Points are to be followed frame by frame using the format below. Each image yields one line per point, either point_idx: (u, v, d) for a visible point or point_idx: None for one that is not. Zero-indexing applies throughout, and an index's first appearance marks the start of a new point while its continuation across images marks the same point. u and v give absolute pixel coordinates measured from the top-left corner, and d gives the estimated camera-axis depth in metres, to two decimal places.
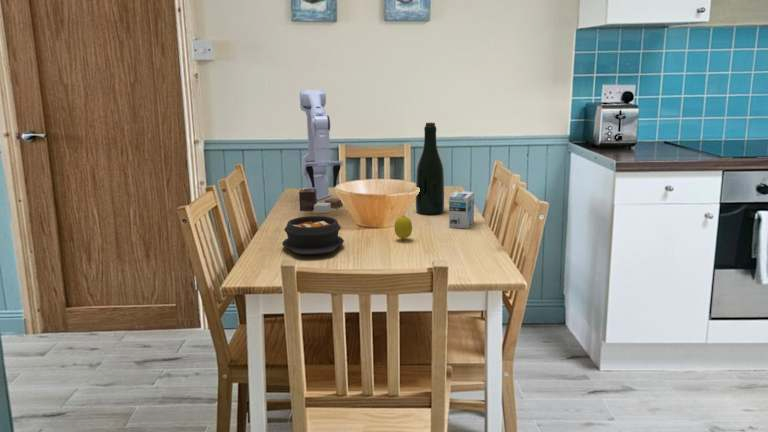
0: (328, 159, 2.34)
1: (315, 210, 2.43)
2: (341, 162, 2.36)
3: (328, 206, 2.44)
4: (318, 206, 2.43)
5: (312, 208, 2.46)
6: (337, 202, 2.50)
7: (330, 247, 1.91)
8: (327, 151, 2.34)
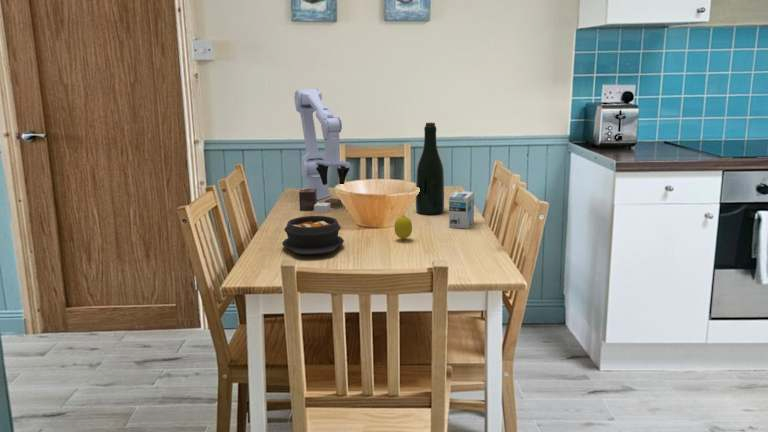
0: (333, 160, 2.45)
1: (315, 210, 2.43)
2: (346, 164, 2.44)
3: (328, 206, 2.44)
4: (318, 206, 2.43)
5: (312, 208, 2.46)
6: (337, 202, 2.50)
7: (330, 247, 1.91)
8: (332, 153, 2.45)
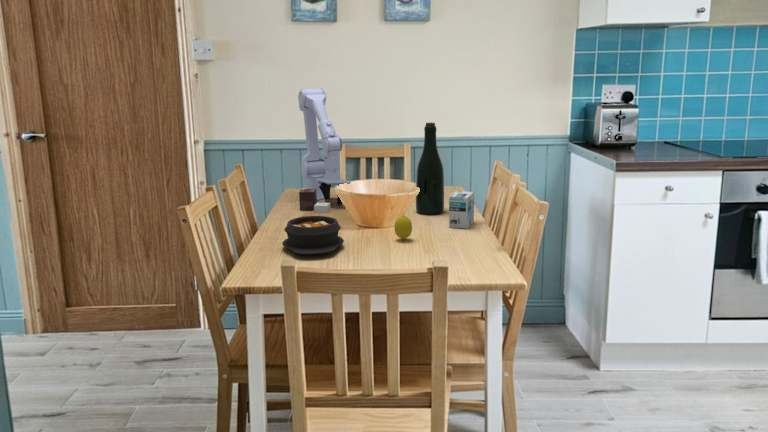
0: (334, 179, 2.47)
1: (315, 210, 2.43)
2: None
3: (328, 206, 2.44)
4: (318, 206, 2.43)
5: (312, 208, 2.46)
6: (337, 201, 2.50)
7: (330, 247, 1.91)
8: (333, 172, 2.46)
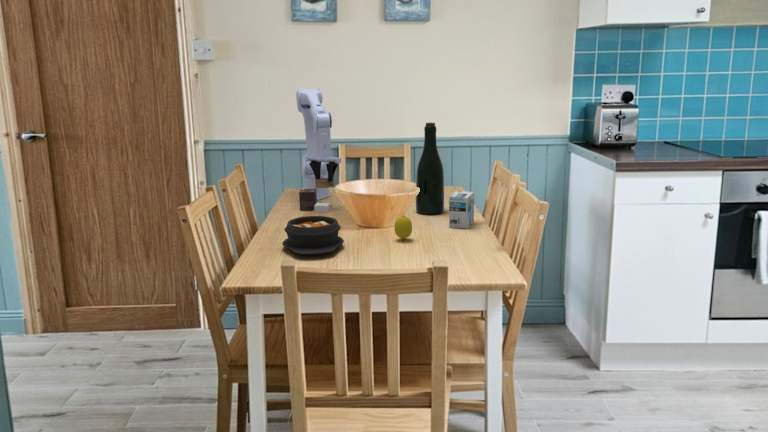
0: (324, 156, 2.44)
1: (315, 210, 2.43)
2: (337, 160, 2.43)
3: (328, 206, 2.44)
4: (319, 206, 2.43)
5: (312, 208, 2.46)
6: None
7: (330, 247, 1.91)
8: (323, 148, 2.43)
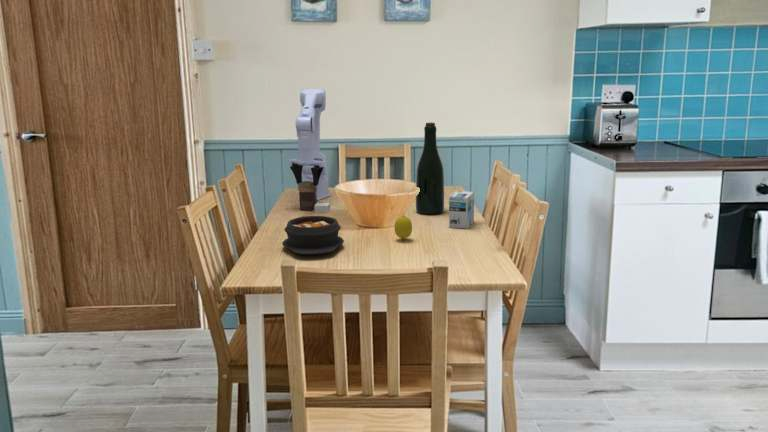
0: (307, 160, 2.42)
1: (316, 210, 2.43)
2: (320, 163, 2.41)
3: (328, 206, 2.45)
4: (319, 206, 2.43)
5: (312, 208, 2.46)
6: (310, 184, 2.45)
7: (330, 247, 1.91)
8: (306, 152, 2.42)
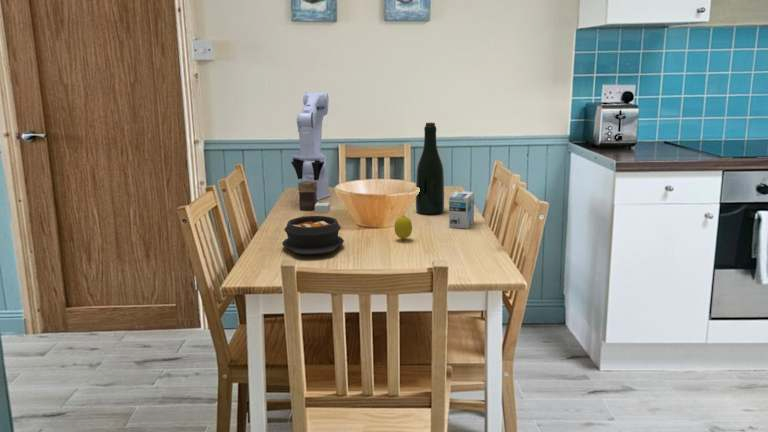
0: (308, 155, 2.48)
1: (316, 210, 2.43)
2: (320, 158, 2.46)
3: (328, 206, 2.45)
4: (319, 206, 2.43)
5: (312, 208, 2.47)
6: (311, 184, 2.45)
7: (330, 247, 1.91)
8: (307, 147, 2.47)
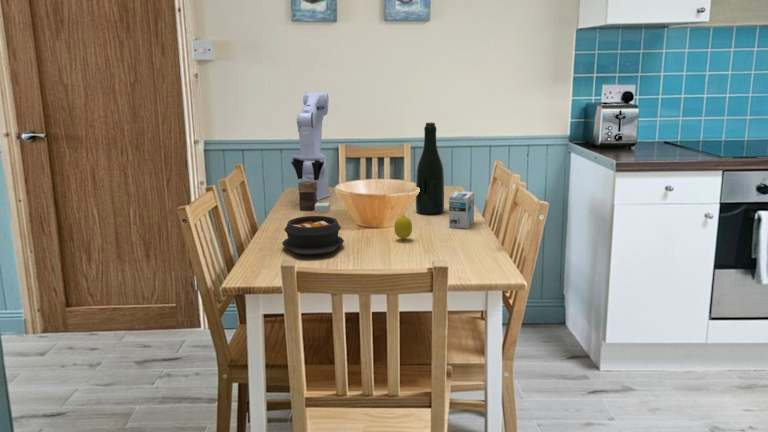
0: (308, 155, 2.48)
1: (316, 210, 2.43)
2: (320, 158, 2.46)
3: (328, 206, 2.45)
4: (319, 206, 2.43)
5: (312, 208, 2.46)
6: (311, 184, 2.45)
7: (330, 247, 1.91)
8: (307, 147, 2.47)
